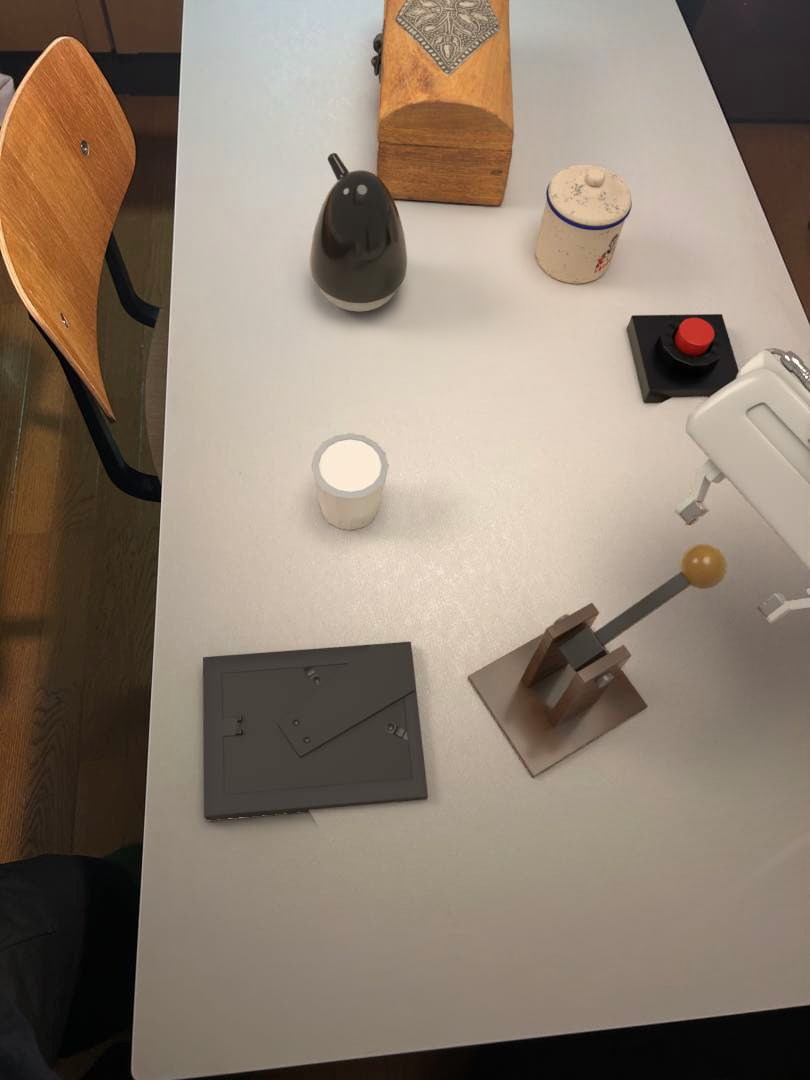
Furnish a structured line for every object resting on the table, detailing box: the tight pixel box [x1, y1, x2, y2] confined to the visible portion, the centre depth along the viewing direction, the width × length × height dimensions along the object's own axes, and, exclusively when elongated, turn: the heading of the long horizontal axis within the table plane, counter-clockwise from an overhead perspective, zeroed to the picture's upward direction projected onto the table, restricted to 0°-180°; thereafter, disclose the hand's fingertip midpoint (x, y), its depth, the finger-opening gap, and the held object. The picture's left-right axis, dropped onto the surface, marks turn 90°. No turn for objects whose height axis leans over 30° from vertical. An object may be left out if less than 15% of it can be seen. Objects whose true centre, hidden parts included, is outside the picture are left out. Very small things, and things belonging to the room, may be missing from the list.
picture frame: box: [202, 641, 429, 821], centre depth 78 cm, size 13×2×18 cm
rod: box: [558, 543, 728, 672], centre depth 71 cm, size 14×3×3 cm, turn 121°
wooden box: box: [370, 0, 515, 206], centre depth 110 cm, size 30×16×14 cm, turn 178°
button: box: [674, 318, 714, 356], centre depth 96 cm, size 4×4×2 cm
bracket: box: [467, 602, 648, 779], centre depth 76 cm, size 12×10×13 cm
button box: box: [626, 313, 740, 404], centre depth 98 cm, size 10×10×4 cm
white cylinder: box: [311, 433, 389, 531], centre depth 86 cm, size 7×7×7 cm
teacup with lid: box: [534, 164, 633, 285], centre depth 102 cm, size 12×9×12 cm
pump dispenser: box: [309, 152, 408, 312], centre depth 95 cm, size 10×10×15 cm
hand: (722, 565), depth 70 cm, fingers open, 8 cm apart
